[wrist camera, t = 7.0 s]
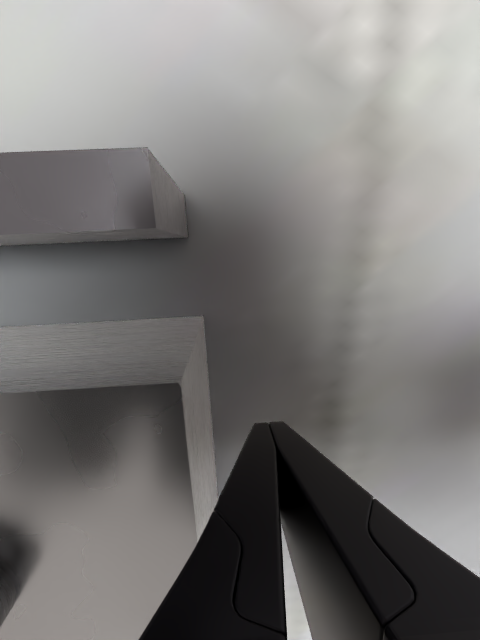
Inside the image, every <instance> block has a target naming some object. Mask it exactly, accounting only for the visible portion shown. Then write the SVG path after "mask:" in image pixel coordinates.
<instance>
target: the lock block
mask: <svg viewBox="0 0 480 640" xmlns="http://www.w3.org/2000/svg"><path fill="white" fill-rule="evenodd" d="M217 501H218V491H217V478H216V466H215V453H214V441H213V428H212V416H211V403H210V391H209V378H208V365H207V353H206V340H205V328H204V316H191V317H173V318H155V319H137V320H119V321H100V322H82V323H64V324H46V325H28V326H10V327H0V640H138V639H139V638H140V636H141V635H142V633H143V631H144V630H145V628H146V627H147V625H148V623H149V622H150V620H151V619H152V617H153V615H154V614H155V612H156V611H157V609H158V607H159V606H160V604H161V603H162V601H163V599H164V598H165V596H166V595H167V593H168V591H169V590H170V588H171V587H172V585H173V583H174V582H175V580H176V579H177V577H178V575H179V574H180V572H181V570H182V569H183V567H184V565H185V564H186V562H187V560H188V558H189V557H190V555H191V553H192V552H193V550H194V548H195V546H196V544H197V542H198V540H199V538H200V536H201V535H202V533H203V531H204V529H205V527H206V525H207V522H208V520H209V518H210V516H211V514H212V512H213V511H214V508H215V506H216V504H217Z"/></svg>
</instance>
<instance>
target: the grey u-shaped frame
mask: <svg viewBox="0 0 480 640" xmlns="http://www.w3.org/2000/svg"><path fill="white" fill-rule="evenodd" d="M186 237H188V231H187V220H186V208H185V197H184V194H183V192H182V191H181V190H180V189H179V187H178V186H177V185H176V183H175V182H174V181H173V180H172V178H171V177H170V176H169V175H168V173H167V172H166V171H165V170H164V168H163V167H162V166H161V164H160V163H159V162H158V161H157V159H156V158H155V157H154V156H153V154H152V153H151V152H150V150H149V149H148V148H147V147H146V148H118V149H90V150H62V151H34V152H7V153H0V246H12V245H34V244H56V243H78V242H99V241H121V240H143V239H164V238H186Z"/></svg>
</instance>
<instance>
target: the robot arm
mask: <svg viewBox="0 0 480 640" xmlns="http://www.w3.org/2000/svg"><path fill="white" fill-rule="evenodd" d="M281 524H282V528H283V531H284V535H285V539H286V542H287V546H288V550H289V554H290V557H291V561H292V565H293V569H294V572H295V576H296V580H297V584H298V587H299V591H300V595H301V599H302V602H303V606H304V610H305V613H306V617H307V621H308V625H309V628H310V632H311V636H312V640H480V577H478V576H477V575H475V574H474V573H473V572H471V571H470V570H468V569H467V568H466V567H464V566H463V565H461V564H460V563H459V562H457V561H456V560H454V559H453V558H452V557H450V556H449V555H447V554H446V553H445V552H443V551H442V550H440V549H439V548H438V547H436V546H435V545H434V544H432V543H431V542H430V541H428V540H427V539H426V538H424V537H423V536H422V535H420V534H419V533H417V532H416V531H415V530H413V529H412V528H411V527H410V526H408V525H407V524H406V523H405V522H403V521H402V520H401V519H400V518H398V517H397V516H396V515H395V514H393V513H392V512H391V511H390V510H389V509H387V508H386V507H385V506H384V505H383V504H381V503H380V502H379V501H378V500H377V499H373V496H372V495H370V494H369V493H368V492H367V491H366V490H364V489H363V488H362V487H361V486H360V485H358V484H357V483H356V482H355V481H354V480H352V479H351V478H350V477H349V476H348V475H347V474H345V473H344V472H343V471H342V470H341V469H339V468H338V467H337V466H336V465H335V464H333V463H332V462H331V461H330V460H329V459H327V458H326V457H325V456H324V455H323V454H321V453H320V452H319V451H318V450H317V449H315V448H314V447H313V446H312V445H311V444H310V443H308V442H307V441H306V440H305V439H304V438H302V437H301V436H300V435H299V434H298V433H296V432H295V431H294V430H293V429H292V428H290V427H289V426H288V425H287V424H286V423H284V422H282V421H279V422H270V423H269V424H268V423H266V422H265V423H255V424H254V425H253V426H252V429H251V431H250V433H249V435H248V437H247V439H246V441H245V444H244V446H243V448H242V450H241V452H240V454H239V456H238V459H237V461H236V463H235V465H234V467H233V469H232V471H231V474H230V476H229V478H228V480H227V482H226V484H225V486H224V489H223V491H222V493H221V495H220V497H219V499H218V501H217V504H216V506H215V508H214V511H213V512H212V514H211V516H210V518H209V520H208V522H207V525H206V527H205V529H204V531H203V533H202V535H201V536H200V538H199V540H198V542H197V544H196V546H195V548H194V550H193V552H192V553H191V555H190V557H189V558H188V560H187V562H186V564H185V565H184V567H183V569H182V570H181V572H180V574H179V575H178V577H177V579H176V580H175V582H174V583H173V585H172V587H171V588H170V590H169V591H168V593H167V595H166V596H165V598H164V599H163V601H162V603H161V604H160V606H159V607H158V609H157V611H156V612H155V614H154V615H153V617H152V619H151V620H150V622H149V623H148V625H147V627H146V628H145V630H144V631H143V633H142V635H141V636H140V638H139V639H138V640H287V627H286V609H285V591H284V573H283V555H282V537H281Z"/></svg>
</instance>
